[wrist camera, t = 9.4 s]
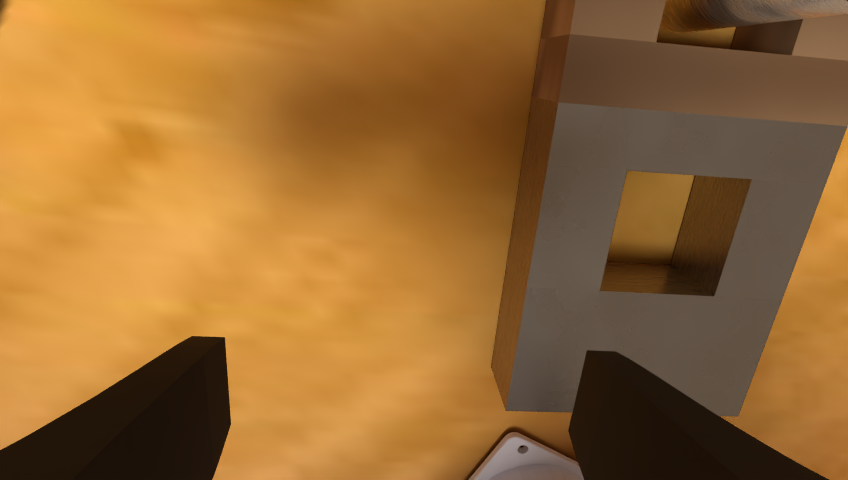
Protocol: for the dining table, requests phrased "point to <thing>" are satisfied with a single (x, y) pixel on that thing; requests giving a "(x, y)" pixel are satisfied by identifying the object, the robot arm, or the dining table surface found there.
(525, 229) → the socket block
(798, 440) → the dining table surface
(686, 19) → the cylindrical metal peg
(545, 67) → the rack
